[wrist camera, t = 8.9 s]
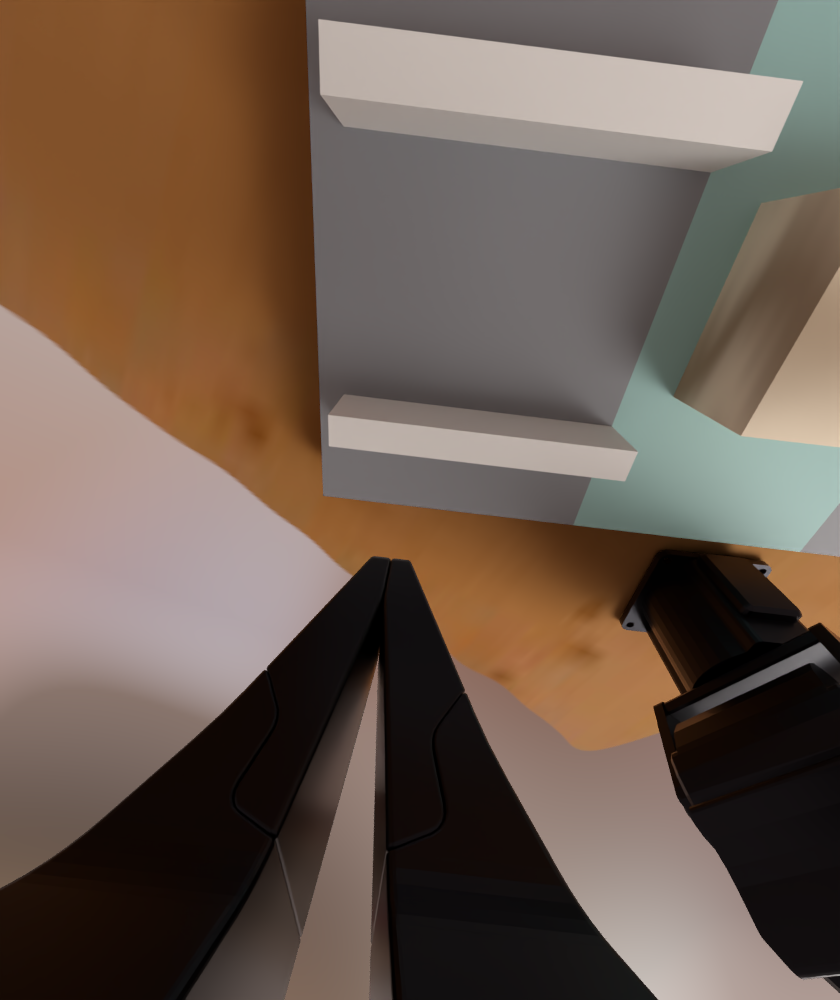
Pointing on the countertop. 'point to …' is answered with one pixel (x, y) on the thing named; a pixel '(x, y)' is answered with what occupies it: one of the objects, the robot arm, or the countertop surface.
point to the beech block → (776, 329)
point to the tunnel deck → (558, 253)
